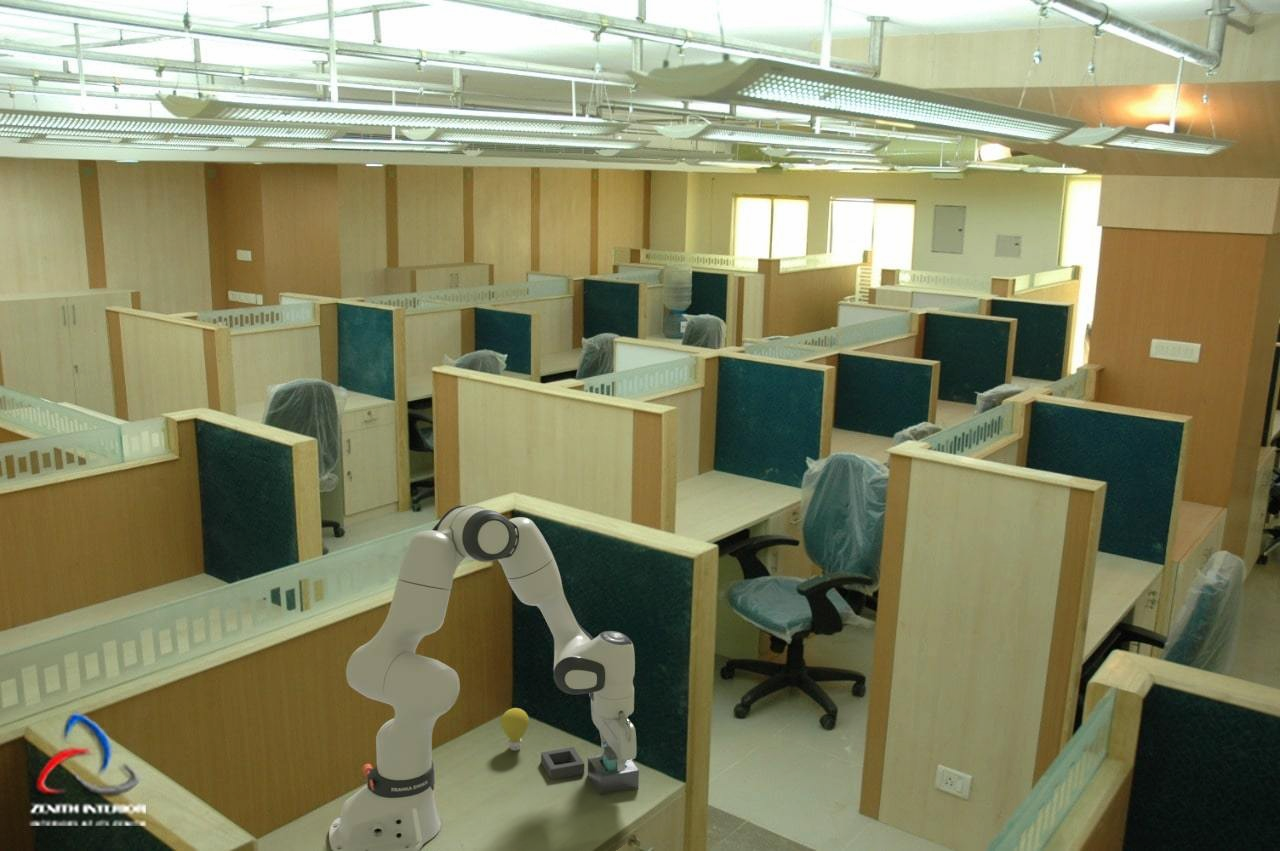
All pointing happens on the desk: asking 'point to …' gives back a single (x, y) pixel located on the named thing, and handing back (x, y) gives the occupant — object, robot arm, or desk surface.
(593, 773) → the port
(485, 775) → the desk surface
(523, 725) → the light bulb
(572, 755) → the frame
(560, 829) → the desk surface
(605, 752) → the plug
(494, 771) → the desk surface
